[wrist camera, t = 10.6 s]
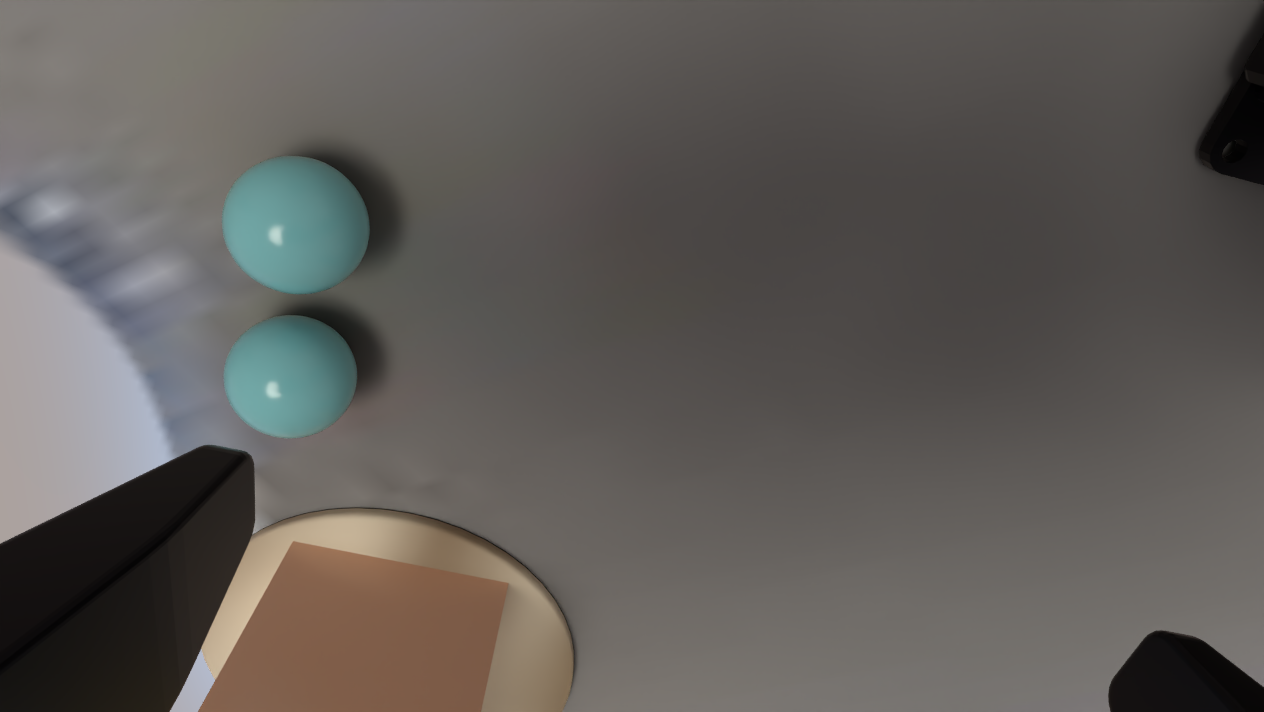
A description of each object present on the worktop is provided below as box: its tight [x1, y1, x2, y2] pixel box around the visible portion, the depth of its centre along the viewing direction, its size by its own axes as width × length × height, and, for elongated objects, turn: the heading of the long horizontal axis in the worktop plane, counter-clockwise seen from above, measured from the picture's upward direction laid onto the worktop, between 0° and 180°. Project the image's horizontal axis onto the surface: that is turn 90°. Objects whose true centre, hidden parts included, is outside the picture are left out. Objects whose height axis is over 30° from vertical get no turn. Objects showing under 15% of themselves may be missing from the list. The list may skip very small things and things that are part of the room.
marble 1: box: [222, 156, 370, 294], centre depth 18 cm, size 3×3×3 cm
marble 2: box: [224, 315, 357, 439], centre depth 20 cm, size 3×3×3 cm
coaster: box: [201, 508, 574, 712], centre depth 27 cm, size 12×12×1 cm
